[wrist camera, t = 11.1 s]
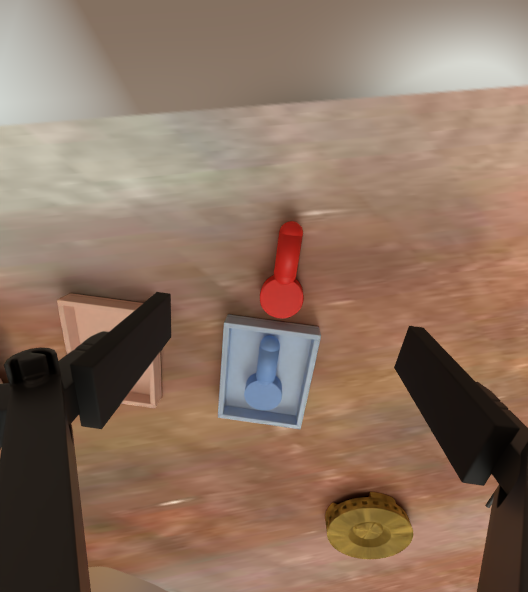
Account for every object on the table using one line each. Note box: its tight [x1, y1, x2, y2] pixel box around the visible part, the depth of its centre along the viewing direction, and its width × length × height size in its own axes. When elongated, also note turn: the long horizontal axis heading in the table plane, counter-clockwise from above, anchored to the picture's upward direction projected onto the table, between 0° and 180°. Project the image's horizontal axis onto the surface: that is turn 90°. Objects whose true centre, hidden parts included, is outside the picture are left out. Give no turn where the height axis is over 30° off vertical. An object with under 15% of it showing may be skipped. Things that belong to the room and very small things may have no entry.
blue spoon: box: [244, 336, 282, 410], centre depth 31 cm, size 10×4×2 cm, turn 174°
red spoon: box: [260, 221, 303, 318], centre depth 27 cm, size 10×4×2 cm, turn 174°
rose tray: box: [57, 293, 162, 408], centre depth 32 cm, size 13×10×2 cm
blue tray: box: [218, 314, 321, 429], centre depth 32 cm, size 13×10×2 cm
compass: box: [325, 492, 413, 559], centre depth 41 cm, size 12×12×2 cm
